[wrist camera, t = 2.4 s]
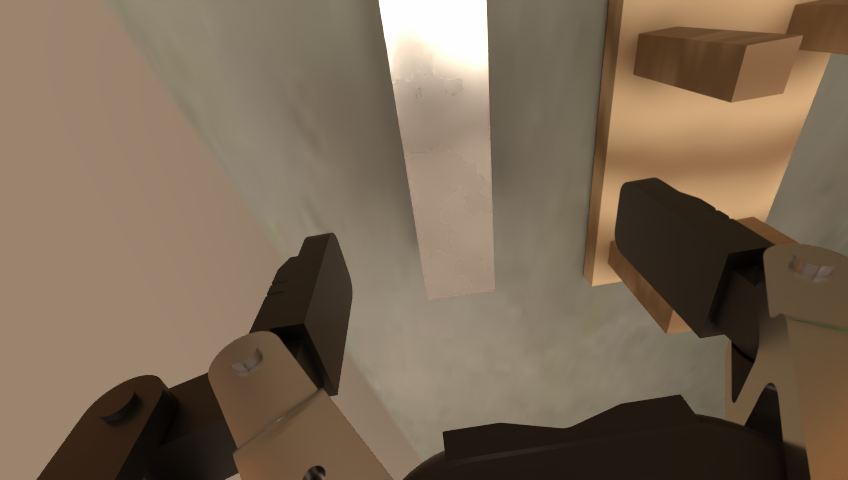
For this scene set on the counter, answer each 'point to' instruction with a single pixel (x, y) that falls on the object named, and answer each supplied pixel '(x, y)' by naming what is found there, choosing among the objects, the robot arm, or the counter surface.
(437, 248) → the pale beige plank
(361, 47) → the counter surface
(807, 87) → the rack
